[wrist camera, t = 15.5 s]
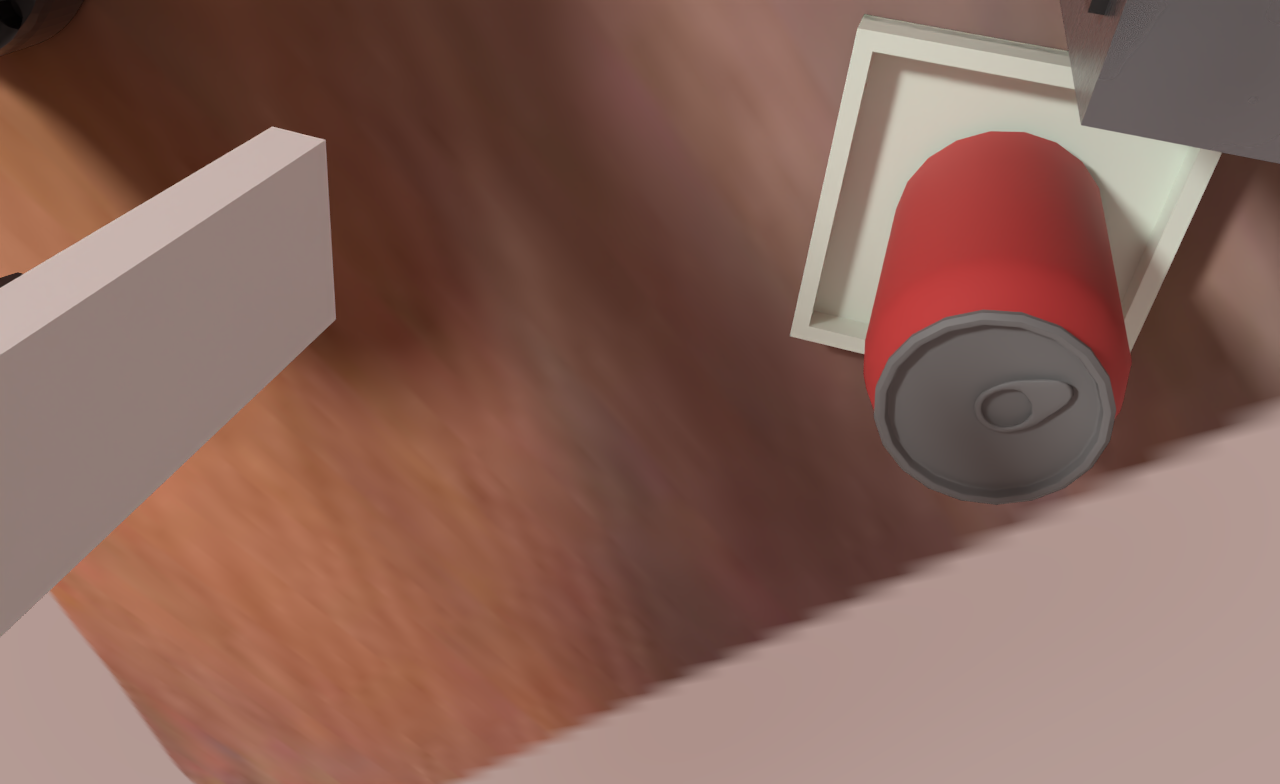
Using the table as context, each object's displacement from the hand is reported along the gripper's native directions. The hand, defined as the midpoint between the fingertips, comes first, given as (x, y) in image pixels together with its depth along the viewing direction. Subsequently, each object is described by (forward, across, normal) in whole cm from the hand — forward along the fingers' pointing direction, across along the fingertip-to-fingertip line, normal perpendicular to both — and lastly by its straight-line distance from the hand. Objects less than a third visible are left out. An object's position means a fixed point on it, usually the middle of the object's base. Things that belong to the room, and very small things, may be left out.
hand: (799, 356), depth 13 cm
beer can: (+23, +5, -7) cm, 24 cm away
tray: (+23, +5, -7) cm, 25 cm away
